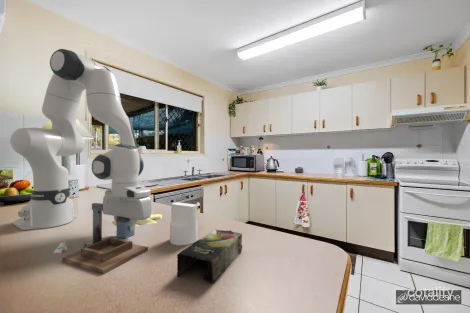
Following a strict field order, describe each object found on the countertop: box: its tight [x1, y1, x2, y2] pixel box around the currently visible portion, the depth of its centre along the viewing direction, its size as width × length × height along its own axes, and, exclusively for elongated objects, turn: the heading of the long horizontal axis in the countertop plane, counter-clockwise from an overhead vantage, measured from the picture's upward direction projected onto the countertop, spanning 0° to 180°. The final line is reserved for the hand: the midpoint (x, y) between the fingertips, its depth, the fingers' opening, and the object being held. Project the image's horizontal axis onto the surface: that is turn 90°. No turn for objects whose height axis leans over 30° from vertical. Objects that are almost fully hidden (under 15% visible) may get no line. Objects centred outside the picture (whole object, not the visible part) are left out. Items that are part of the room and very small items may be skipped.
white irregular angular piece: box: [53, 240, 68, 254], centre depth 63 cm, size 3×3×3 cm
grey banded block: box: [116, 217, 135, 239], centre depth 76 cm, size 4×4×6 cm
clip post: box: [83, 202, 106, 247], centre depth 68 cm, size 5×5×13 cm
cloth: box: [112, 213, 163, 227], centre depth 94 cm, size 22×19×6 cm
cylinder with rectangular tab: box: [169, 201, 199, 246], centre depth 72 cm, size 9×9×12 cm
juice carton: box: [176, 229, 243, 283], centre depth 58 cm, size 20×10×6 cm, turn 158°
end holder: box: [61, 236, 149, 275], centre depth 61 cm, size 16×14×3 cm
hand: (125, 229), depth 76 cm, fingers closed on grey banded block, 4 cm apart
